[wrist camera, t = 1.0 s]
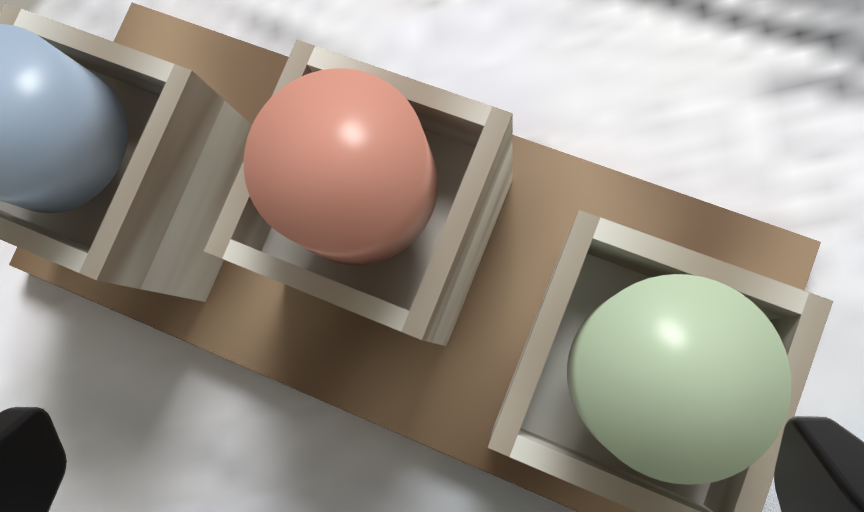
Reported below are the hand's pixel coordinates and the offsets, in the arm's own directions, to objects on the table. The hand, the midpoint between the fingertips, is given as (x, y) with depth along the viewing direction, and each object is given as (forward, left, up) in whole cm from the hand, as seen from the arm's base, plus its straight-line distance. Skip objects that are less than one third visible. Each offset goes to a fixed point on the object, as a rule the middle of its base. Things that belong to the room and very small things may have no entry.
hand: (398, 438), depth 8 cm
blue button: (-5, +11, -7) cm, 14 cm away
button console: (0, +5, -14) cm, 15 cm away
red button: (+1, +5, -7) cm, 9 cm away
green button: (+4, -2, -7) cm, 8 cm away
